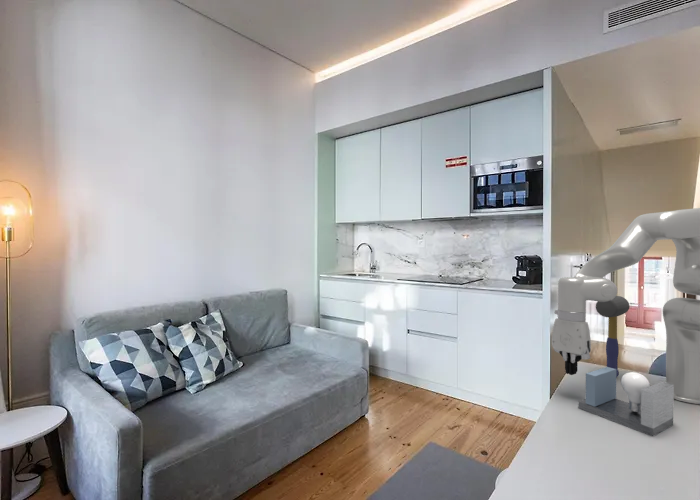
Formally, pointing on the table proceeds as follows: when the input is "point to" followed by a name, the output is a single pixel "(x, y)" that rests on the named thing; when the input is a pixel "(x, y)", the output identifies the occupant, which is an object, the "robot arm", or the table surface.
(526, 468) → the table surface
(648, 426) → the vise base
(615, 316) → the rubber mallet
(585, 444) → the table surface
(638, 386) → the lightbulb
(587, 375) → the vise jaw
